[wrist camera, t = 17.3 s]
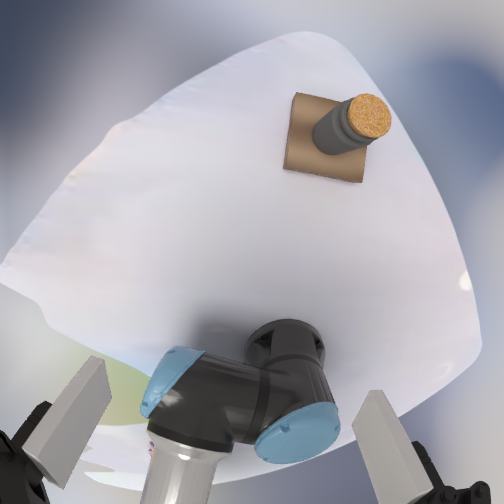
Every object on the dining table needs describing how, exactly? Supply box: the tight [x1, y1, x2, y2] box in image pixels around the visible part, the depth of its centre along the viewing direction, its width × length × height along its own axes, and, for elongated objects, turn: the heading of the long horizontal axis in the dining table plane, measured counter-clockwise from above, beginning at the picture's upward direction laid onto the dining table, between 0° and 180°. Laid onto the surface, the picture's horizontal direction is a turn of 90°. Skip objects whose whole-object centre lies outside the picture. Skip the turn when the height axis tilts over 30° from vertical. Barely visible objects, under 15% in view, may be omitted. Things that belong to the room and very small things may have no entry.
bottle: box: [312, 94, 391, 155], centre depth 30 cm, size 6×6×15 cm
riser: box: [283, 92, 367, 183], centre depth 39 cm, size 12×12×4 cm
